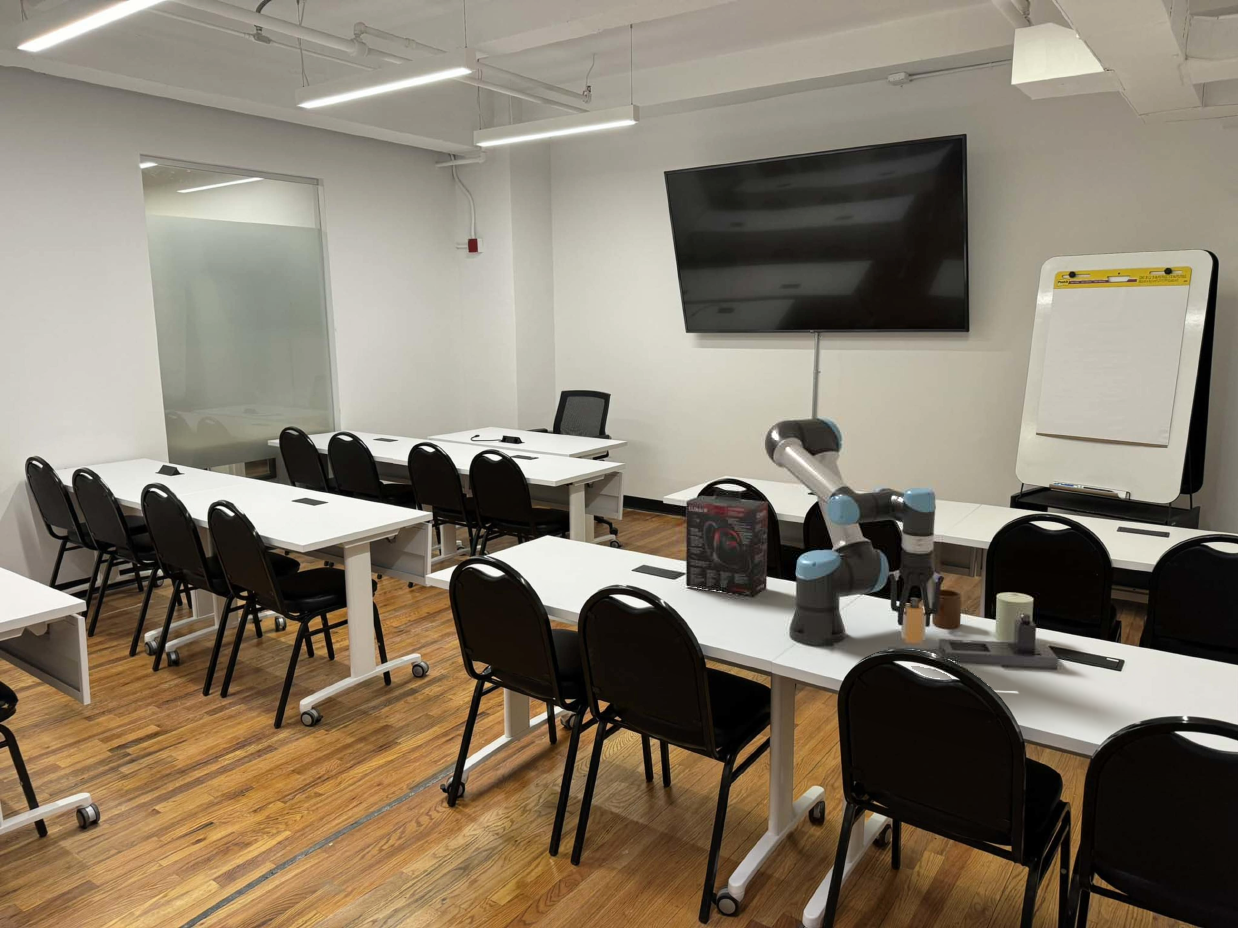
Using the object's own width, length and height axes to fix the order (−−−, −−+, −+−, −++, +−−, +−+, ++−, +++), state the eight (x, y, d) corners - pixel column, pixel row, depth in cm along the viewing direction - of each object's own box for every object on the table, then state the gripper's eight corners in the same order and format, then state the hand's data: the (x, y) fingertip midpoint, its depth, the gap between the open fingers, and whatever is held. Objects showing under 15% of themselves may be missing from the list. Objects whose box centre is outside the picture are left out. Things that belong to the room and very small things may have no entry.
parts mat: (891, 662, 218) (892, 660, 218) (887, 648, 227) (887, 646, 227) (941, 665, 215) (942, 663, 215) (935, 650, 225) (935, 649, 225)
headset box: (768, 588, 284) (769, 489, 279) (754, 598, 273) (755, 496, 269) (701, 579, 296) (700, 484, 292) (685, 588, 286) (684, 490, 281)
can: (1029, 634, 236) (1031, 591, 234) (1033, 645, 227) (1036, 601, 226) (993, 631, 239) (995, 589, 237) (995, 642, 230) (997, 599, 229)
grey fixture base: (945, 663, 216) (947, 617, 214) (938, 649, 226) (940, 605, 224) (1057, 669, 211) (1059, 622, 209) (1045, 654, 221) (1047, 609, 219)
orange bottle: (905, 642, 220) (907, 601, 218) (903, 636, 224) (905, 596, 222) (921, 643, 219) (924, 601, 217) (919, 637, 223) (921, 596, 221)
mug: (946, 635, 237) (947, 602, 235) (919, 629, 242) (920, 596, 241) (965, 624, 245) (966, 592, 244) (939, 618, 250) (940, 587, 249)
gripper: (883, 552, 215) (879, 640, 219) (955, 555, 212) (950, 645, 216) (880, 544, 223) (876, 630, 227) (950, 547, 219) (945, 634, 223)
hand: (912, 637), depth 221 cm, fingers closed on orange bottle, 4 cm apart
